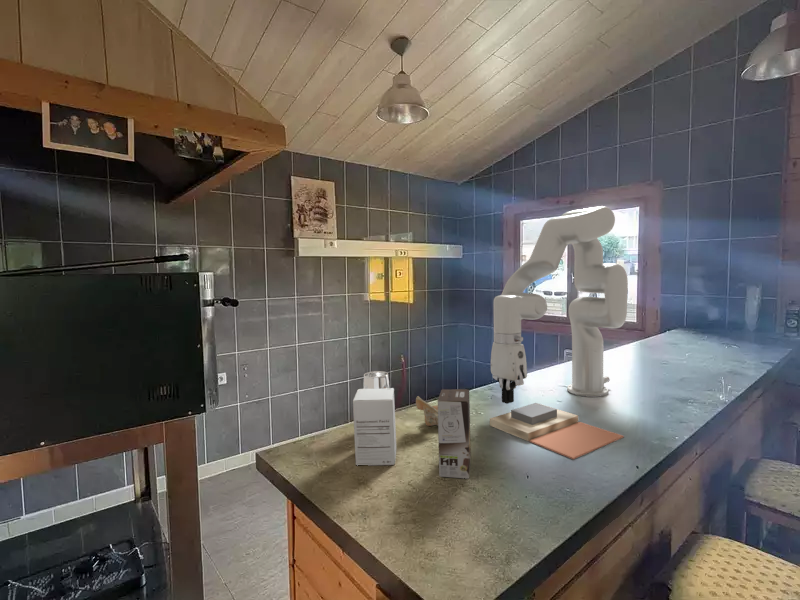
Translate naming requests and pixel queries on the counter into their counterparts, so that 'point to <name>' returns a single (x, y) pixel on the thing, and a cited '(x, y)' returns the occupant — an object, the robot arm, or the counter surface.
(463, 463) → the coffee box
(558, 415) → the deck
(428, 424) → the oil lamp
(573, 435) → the mat
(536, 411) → the tile
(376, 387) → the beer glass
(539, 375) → the counter surface
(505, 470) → the counter surface
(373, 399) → the supplement box
